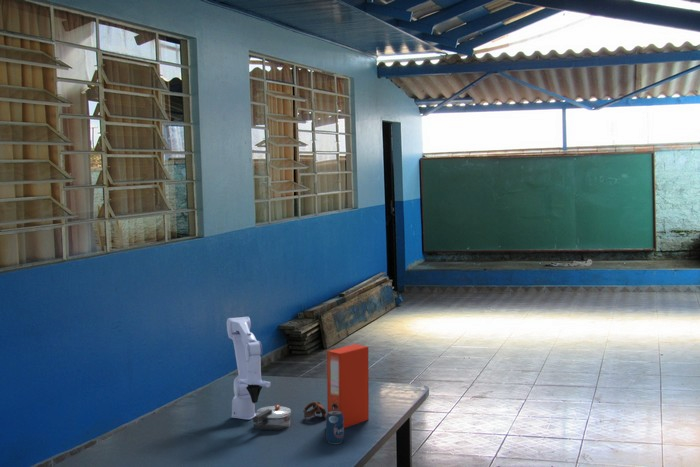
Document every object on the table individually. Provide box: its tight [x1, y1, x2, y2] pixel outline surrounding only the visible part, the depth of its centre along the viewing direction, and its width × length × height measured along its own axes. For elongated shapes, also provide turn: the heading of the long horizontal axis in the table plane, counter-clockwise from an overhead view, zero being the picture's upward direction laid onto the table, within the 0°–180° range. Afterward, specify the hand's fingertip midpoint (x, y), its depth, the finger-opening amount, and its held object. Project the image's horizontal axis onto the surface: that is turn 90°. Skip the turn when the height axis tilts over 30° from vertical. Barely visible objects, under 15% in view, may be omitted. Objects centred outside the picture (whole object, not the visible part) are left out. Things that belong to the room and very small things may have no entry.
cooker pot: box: [253, 414, 291, 431], centre depth 352 cm, size 24×14×5 cm, turn 156°
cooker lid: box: [252, 404, 292, 424], centre depth 351 cm, size 22×15×2 cm, turn 156°
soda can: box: [325, 410, 345, 445], centre depth 332 cm, size 7×7×12 cm
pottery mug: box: [303, 401, 328, 420], centre depth 364 cm, size 12×10×8 cm
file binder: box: [326, 343, 370, 429], centre depth 355 cm, size 8×17×32 cm, turn 137°
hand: (254, 402), depth 352 cm, fingers closed
